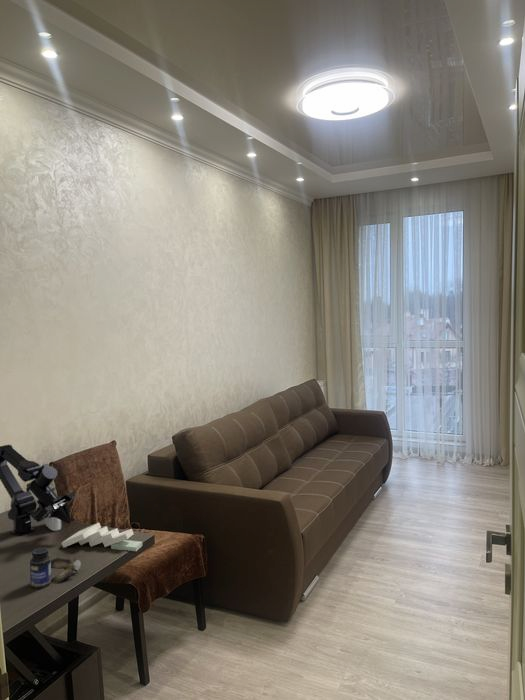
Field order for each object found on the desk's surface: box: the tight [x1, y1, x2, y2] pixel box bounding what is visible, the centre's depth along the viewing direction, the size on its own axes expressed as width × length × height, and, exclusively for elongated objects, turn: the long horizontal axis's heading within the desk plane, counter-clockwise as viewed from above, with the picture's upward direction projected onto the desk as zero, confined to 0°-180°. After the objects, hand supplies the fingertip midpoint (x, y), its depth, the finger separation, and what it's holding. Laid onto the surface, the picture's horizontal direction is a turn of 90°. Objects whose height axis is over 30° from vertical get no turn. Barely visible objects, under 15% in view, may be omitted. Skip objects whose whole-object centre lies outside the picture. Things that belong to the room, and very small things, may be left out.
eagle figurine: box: [51, 555, 82, 584], centre depth 174 cm, size 8×7×9 cm
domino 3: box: [88, 527, 120, 547], centre depth 198 cm, size 2×5×10 cm
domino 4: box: [102, 528, 135, 548], centre depth 197 cm, size 2×5×10 cm
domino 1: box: [61, 522, 102, 549], centre depth 200 cm, size 2×11×10 cm
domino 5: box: [110, 539, 143, 552], centre depth 196 cm, size 2×5×10 cm
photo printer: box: [44, 514, 62, 532], centre depth 215 cm, size 10×4×12 cm, turn 39°
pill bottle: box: [29, 547, 52, 589], centre depth 169 cm, size 6×6×11 cm
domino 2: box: [78, 525, 109, 546], centre depth 199 cm, size 2×5×10 cm
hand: (70, 523), depth 201 cm, fingers closed
